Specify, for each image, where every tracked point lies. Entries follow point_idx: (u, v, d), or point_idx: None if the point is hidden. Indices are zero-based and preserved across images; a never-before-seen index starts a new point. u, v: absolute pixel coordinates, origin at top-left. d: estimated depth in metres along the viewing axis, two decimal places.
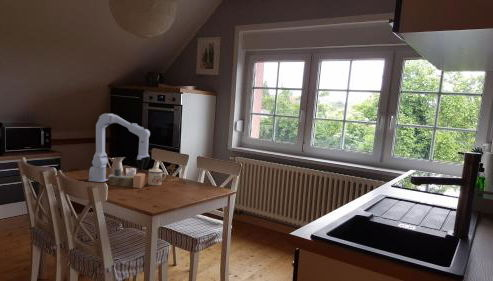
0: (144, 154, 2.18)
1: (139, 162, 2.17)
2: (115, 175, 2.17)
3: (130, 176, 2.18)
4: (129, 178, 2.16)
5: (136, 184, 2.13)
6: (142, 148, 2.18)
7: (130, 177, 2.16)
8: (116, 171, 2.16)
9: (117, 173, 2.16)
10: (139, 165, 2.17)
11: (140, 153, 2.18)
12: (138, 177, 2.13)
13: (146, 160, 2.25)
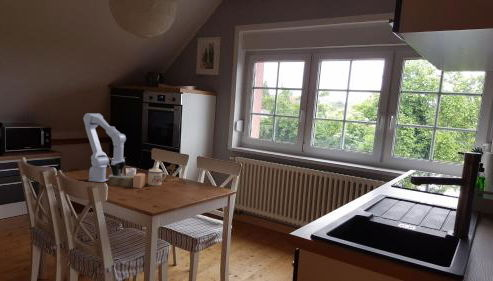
0: (119, 159, 2.15)
1: (114, 167, 2.13)
2: None
3: (130, 176, 2.18)
4: (129, 178, 2.16)
5: (136, 184, 2.13)
6: (117, 153, 2.14)
7: (130, 177, 2.16)
8: None
9: (117, 173, 2.16)
10: (114, 170, 2.13)
11: (115, 158, 2.14)
12: (138, 177, 2.13)
13: (122, 165, 2.21)
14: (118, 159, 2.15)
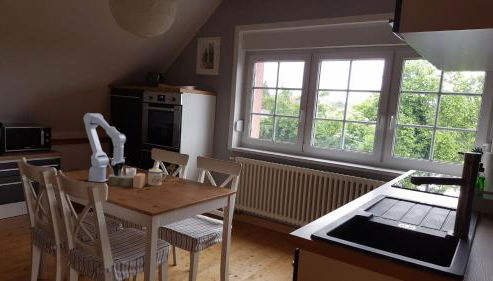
0: (119, 160, 2.15)
1: (115, 167, 2.15)
2: None
3: (130, 176, 2.18)
4: (129, 178, 2.16)
5: (136, 184, 2.13)
6: (117, 153, 2.14)
7: (130, 177, 2.16)
8: None
9: None
10: (115, 170, 2.15)
11: (115, 158, 2.14)
12: (138, 177, 2.13)
13: (120, 166, 2.19)
14: (118, 159, 2.15)
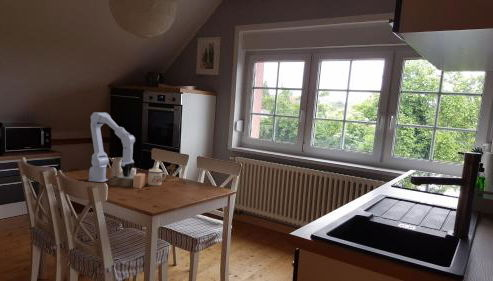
0: (128, 160, 2.14)
1: (124, 168, 2.15)
2: (124, 176, 2.16)
3: None
4: None
5: (136, 184, 2.13)
6: (126, 154, 2.14)
7: None
8: None
9: None
10: (124, 171, 2.15)
11: (124, 159, 2.14)
12: (138, 177, 2.13)
13: (130, 167, 2.19)
14: (127, 160, 2.14)
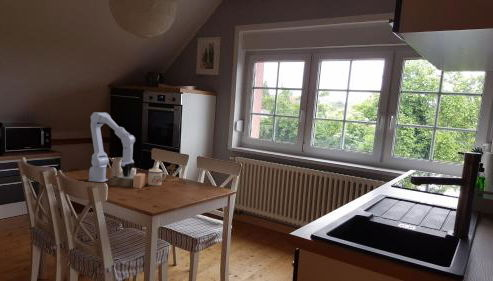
0: (128, 160, 2.14)
1: (124, 168, 2.15)
2: (124, 176, 2.16)
3: None
4: None
5: (136, 184, 2.13)
6: (126, 154, 2.14)
7: None
8: None
9: None
10: (124, 171, 2.15)
11: (124, 159, 2.14)
12: (138, 177, 2.13)
13: (130, 167, 2.19)
14: (127, 160, 2.14)
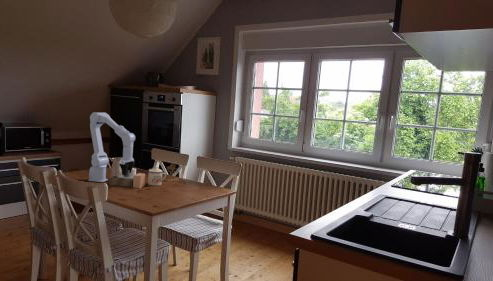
0: (128, 159, 2.14)
1: (123, 167, 2.13)
2: (124, 176, 2.16)
3: None
4: None
5: (136, 184, 2.13)
6: (126, 152, 2.13)
7: None
8: None
9: (126, 174, 2.16)
10: (123, 170, 2.13)
11: (124, 158, 2.14)
12: (138, 177, 2.13)
13: (131, 165, 2.21)
14: (127, 158, 2.14)
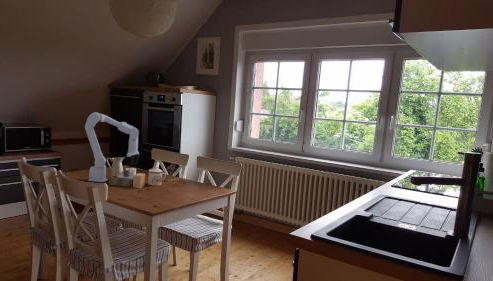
0: (134, 151, 2.27)
1: (129, 159, 2.26)
2: (124, 176, 2.16)
3: None
4: None
5: (136, 184, 2.13)
6: (132, 146, 2.26)
7: None
8: (125, 172, 2.16)
9: (126, 174, 2.16)
10: (129, 162, 2.26)
11: (130, 150, 2.27)
12: (138, 177, 2.13)
13: (136, 158, 2.33)
14: (133, 151, 2.27)
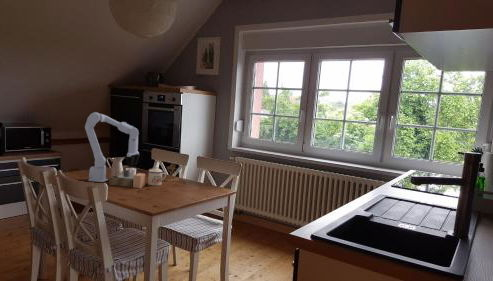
0: (134, 151, 2.27)
1: (129, 159, 2.26)
2: (124, 176, 2.16)
3: None
4: None
5: (136, 184, 2.13)
6: (132, 146, 2.26)
7: None
8: (125, 172, 2.16)
9: (126, 174, 2.16)
10: (129, 162, 2.26)
11: (130, 150, 2.27)
12: (138, 177, 2.13)
13: (136, 158, 2.33)
14: (133, 151, 2.27)
